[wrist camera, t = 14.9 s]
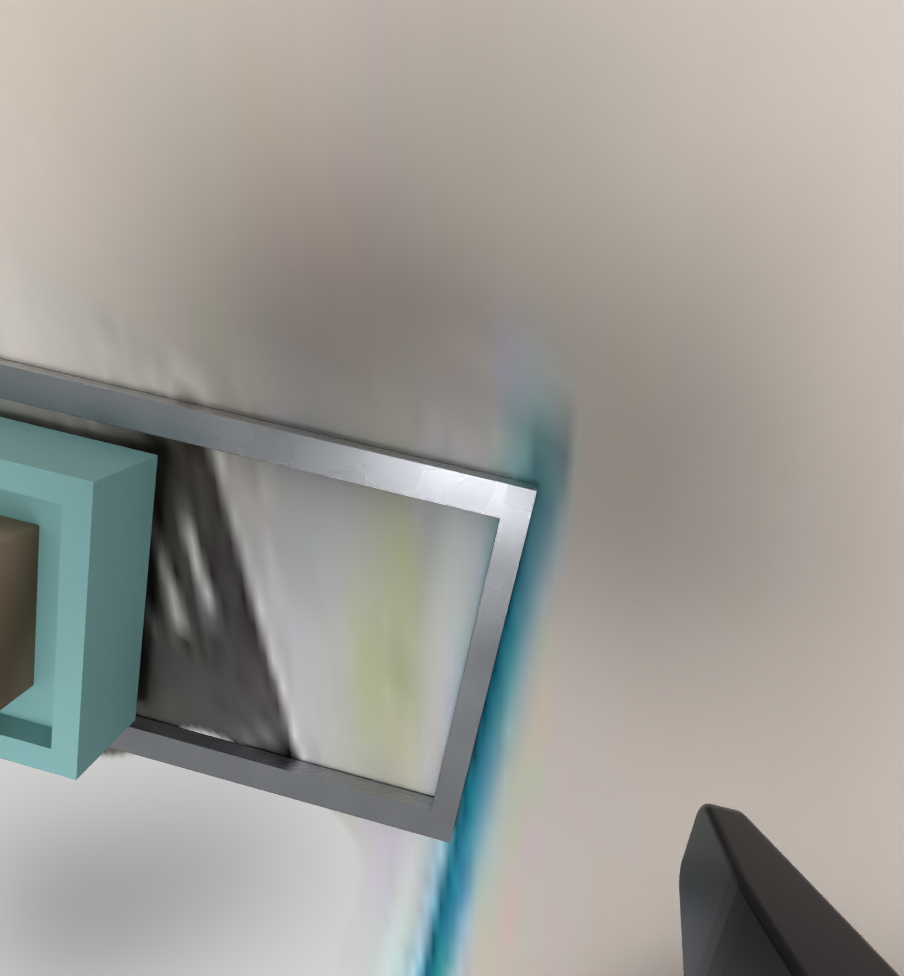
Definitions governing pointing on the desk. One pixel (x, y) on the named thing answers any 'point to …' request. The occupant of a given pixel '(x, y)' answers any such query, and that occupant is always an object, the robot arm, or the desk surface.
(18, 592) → the walnut block
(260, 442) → the gray metal rectangular frame
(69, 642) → the teal square tray
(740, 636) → the desk surface
